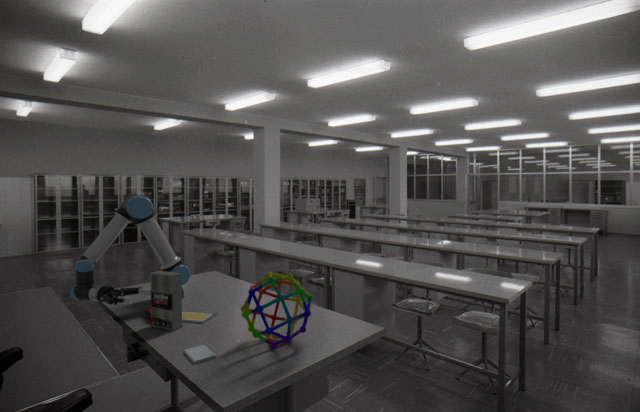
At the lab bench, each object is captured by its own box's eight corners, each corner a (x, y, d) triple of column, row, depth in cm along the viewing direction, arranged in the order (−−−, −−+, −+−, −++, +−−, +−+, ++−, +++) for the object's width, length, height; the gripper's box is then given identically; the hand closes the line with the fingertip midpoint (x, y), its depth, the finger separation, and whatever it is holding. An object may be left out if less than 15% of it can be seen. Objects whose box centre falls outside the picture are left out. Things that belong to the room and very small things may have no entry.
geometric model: (299, 273, 173) (241, 261, 158) (336, 284, 148) (270, 270, 133) (284, 338, 169) (222, 332, 153) (319, 360, 144) (249, 356, 128)
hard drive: (216, 355, 138) (204, 344, 148) (194, 361, 133) (183, 349, 143) (216, 359, 138) (204, 348, 148) (194, 365, 133) (183, 353, 143)
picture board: (180, 311, 192) (180, 310, 192) (217, 313, 187) (217, 312, 187) (163, 320, 178) (163, 319, 178) (203, 323, 173) (203, 322, 173)
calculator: (165, 303, 193) (176, 309, 182) (166, 312, 193) (176, 318, 182) (143, 308, 186) (153, 314, 174) (144, 316, 186) (153, 323, 174)
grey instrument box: (149, 327, 169) (148, 273, 168) (159, 322, 175) (158, 270, 174) (172, 331, 164) (171, 276, 163) (182, 326, 169) (181, 273, 168)
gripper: (121, 294, 188) (158, 296, 184) (80, 309, 164) (121, 313, 159) (121, 279, 188) (158, 281, 183) (80, 293, 163) (121, 295, 159)
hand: (141, 296), depth 171 cm, fingers open, 13 cm apart
